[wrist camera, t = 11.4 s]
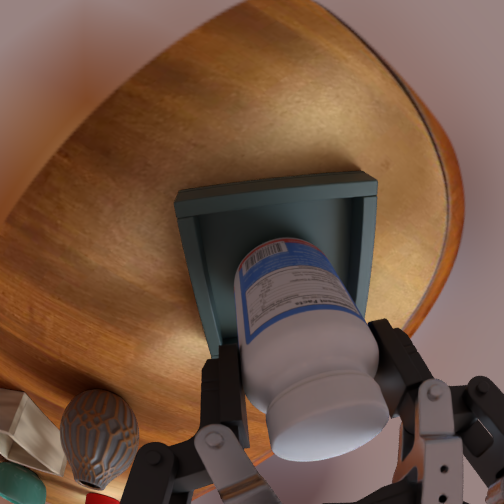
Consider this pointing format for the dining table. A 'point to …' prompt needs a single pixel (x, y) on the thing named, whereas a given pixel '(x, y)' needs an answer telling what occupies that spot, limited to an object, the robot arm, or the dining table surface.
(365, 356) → the pill bottle
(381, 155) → the dining table surface
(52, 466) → the crate
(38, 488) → the mug
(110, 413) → the vase
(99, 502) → the soda can
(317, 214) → the tray
